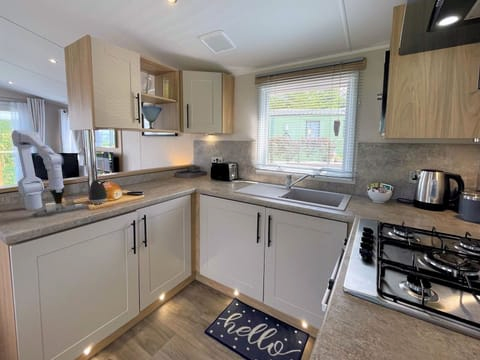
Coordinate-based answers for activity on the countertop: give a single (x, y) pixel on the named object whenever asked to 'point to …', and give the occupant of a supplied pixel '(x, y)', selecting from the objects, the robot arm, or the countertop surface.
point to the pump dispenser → (97, 192)
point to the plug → (50, 207)
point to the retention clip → (63, 201)
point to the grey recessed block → (62, 209)
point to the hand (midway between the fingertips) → (58, 203)
